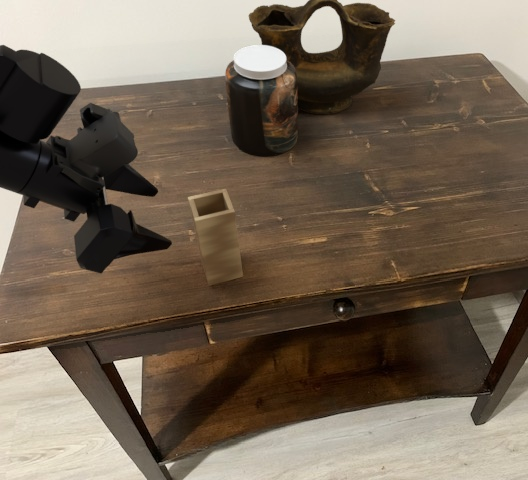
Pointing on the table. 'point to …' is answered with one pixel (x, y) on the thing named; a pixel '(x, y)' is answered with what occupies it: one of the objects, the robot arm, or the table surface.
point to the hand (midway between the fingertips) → (162, 218)
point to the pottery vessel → (331, 62)
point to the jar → (262, 100)
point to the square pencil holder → (216, 236)
